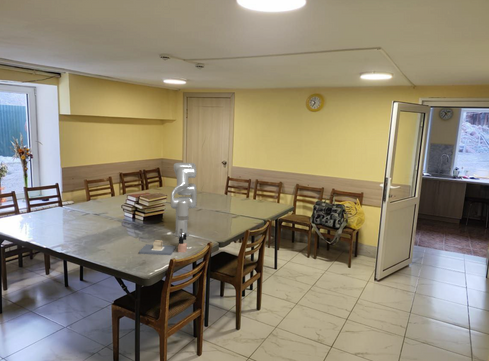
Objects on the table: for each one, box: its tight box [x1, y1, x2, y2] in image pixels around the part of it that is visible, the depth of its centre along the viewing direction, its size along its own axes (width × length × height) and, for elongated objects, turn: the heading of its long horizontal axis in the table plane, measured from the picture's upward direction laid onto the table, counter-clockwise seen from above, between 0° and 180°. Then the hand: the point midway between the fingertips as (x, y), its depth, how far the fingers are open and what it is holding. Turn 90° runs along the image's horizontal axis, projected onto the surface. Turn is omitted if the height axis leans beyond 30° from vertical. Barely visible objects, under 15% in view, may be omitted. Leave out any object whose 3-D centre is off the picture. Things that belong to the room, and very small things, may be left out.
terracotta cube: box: [177, 242, 188, 253], centre depth 237 cm, size 5×5×5 cm
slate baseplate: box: [138, 243, 177, 256], centre depth 237 cm, size 15×22×2 cm
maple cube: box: [152, 239, 164, 250], centre depth 236 cm, size 5×5×5 cm
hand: (182, 241), depth 236 cm, fingers open, 9 cm apart
